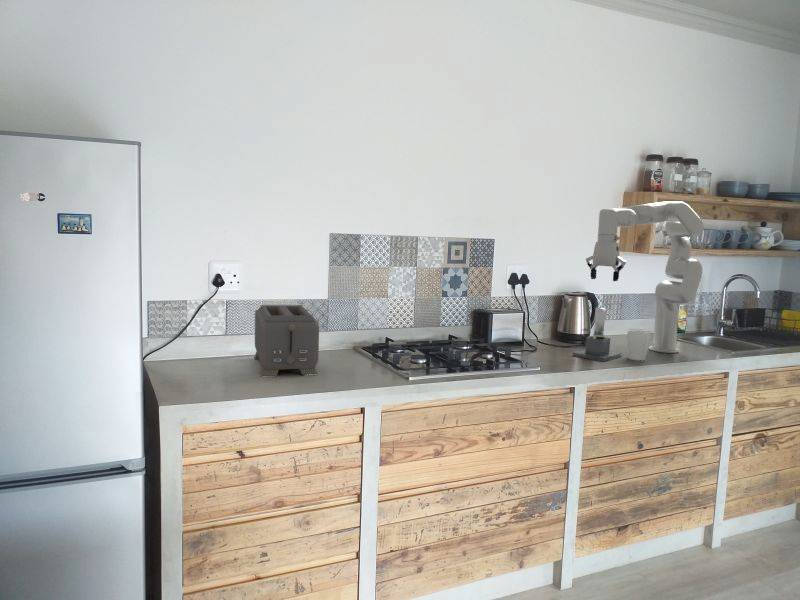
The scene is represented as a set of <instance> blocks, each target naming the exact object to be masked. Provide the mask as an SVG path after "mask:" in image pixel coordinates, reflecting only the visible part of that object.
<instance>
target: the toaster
mask: <svg viewBox="0 0 800 600" xmlns="http://www.w3.org/2000/svg"><path fill="white" fill-rule="evenodd" d="M319 344H320V324H319V321H318V320H317V319H316V318H315V317H314V316H313V315H312V314H311V313H310V312H309V311H308V310H307V309H306V308H305V307H304V306H303V305H302V304H301V305H300V304H295V305H294V304H288V305H287V304H280V305H279V304H277V305H276V304H273V305H271V304H269V305H268V304H261V305H260V307H259V308H258V309H256V310H254V348H255V350H256V351H255V354H254V357H253V358H254V360H255V361H256V360H257V359H259V362H260V364H261V370H260V371H259V372H260V373H259V376H260V375H261V376H260V378H263V377H262V376H278V373H279V371H280V370H299V371H300V373H301V374H300V375H307V374H308V375H309V374H318V371H317V369H316V366H317V364H318V363H319V352H320V351H319V347H320V345H319Z"/></svg>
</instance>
